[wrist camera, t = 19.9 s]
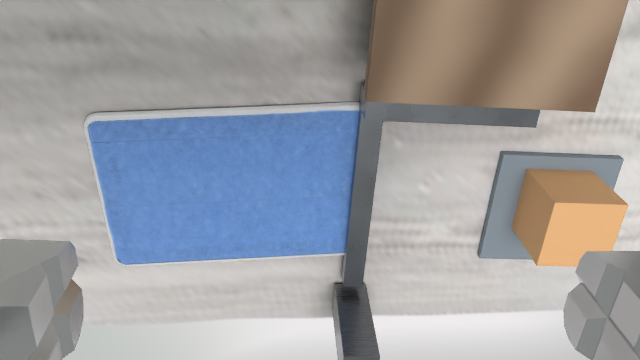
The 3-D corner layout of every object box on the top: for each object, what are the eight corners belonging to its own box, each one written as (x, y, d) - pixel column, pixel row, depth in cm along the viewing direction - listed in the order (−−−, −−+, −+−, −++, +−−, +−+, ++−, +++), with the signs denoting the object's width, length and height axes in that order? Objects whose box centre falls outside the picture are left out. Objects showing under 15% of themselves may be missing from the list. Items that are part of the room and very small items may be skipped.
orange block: (511, 226, 44) (536, 265, 40) (526, 168, 42) (555, 202, 38) (574, 228, 45) (606, 267, 40) (592, 171, 42) (628, 204, 38)
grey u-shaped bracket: (332, 308, 47) (340, 383, 40) (354, 82, 39) (369, 127, 31) (471, 310, 48) (503, 384, 41) (524, 90, 40) (576, 136, 32)
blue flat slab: (366, 98, 40) (369, 104, 39) (364, 248, 46) (366, 258, 45) (84, 108, 39) (78, 115, 38) (118, 260, 45) (114, 270, 44)
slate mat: (477, 253, 46) (479, 258, 45) (501, 151, 42) (503, 154, 41) (585, 256, 47) (589, 260, 46) (619, 155, 43) (623, 159, 42)
